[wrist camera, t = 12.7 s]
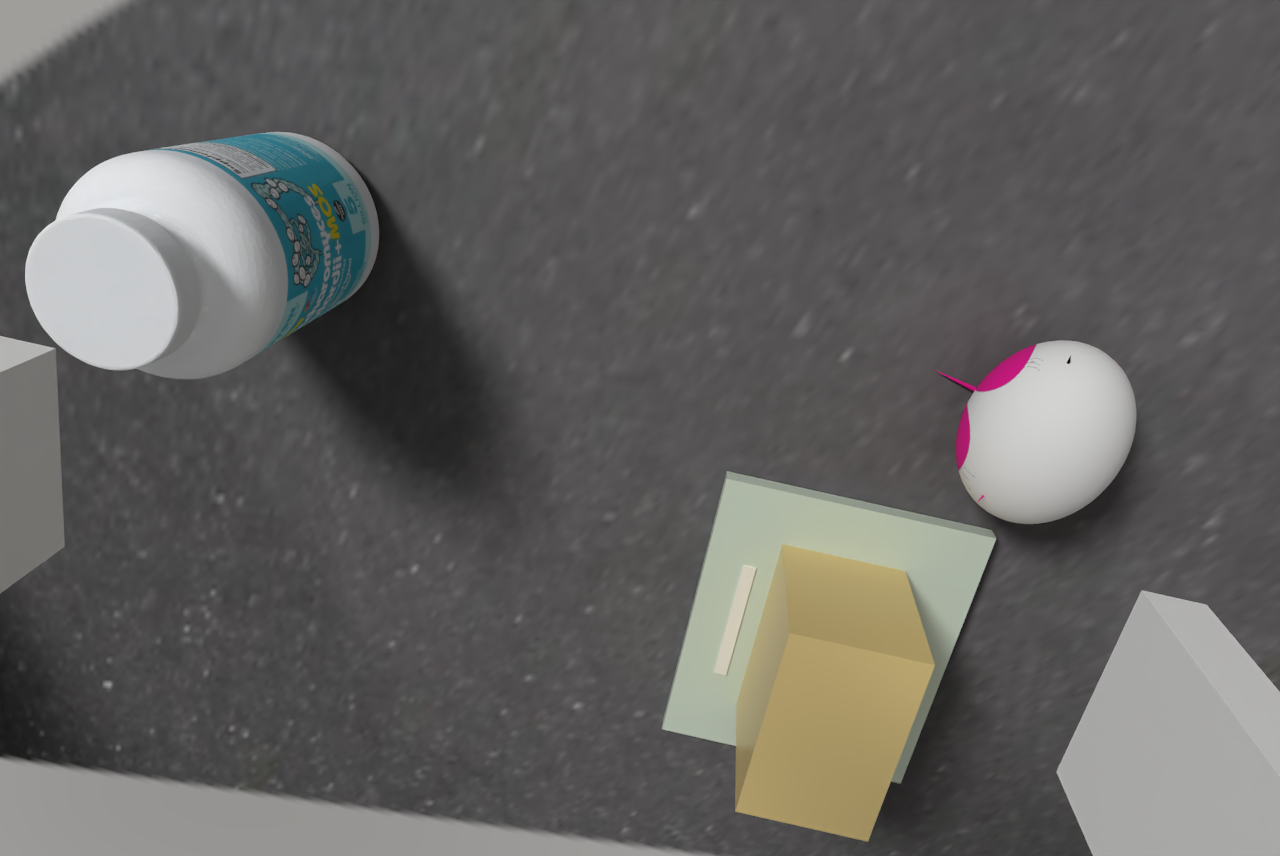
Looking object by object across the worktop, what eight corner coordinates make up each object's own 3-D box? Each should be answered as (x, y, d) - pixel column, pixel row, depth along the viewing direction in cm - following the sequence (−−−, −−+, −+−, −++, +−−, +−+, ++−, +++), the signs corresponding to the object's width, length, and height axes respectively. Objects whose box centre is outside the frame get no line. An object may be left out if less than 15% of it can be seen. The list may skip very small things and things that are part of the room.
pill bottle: (372, 327, 41) (212, 446, 29) (209, 280, 41) (-23, 380, 29) (399, 156, 38) (234, 207, 26) (224, 105, 38) (-25, 132, 26)
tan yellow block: (736, 703, 46) (735, 811, 39) (782, 543, 42) (789, 632, 36) (850, 729, 46) (867, 841, 39) (905, 571, 42) (934, 665, 36)
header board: (663, 718, 47) (655, 784, 43) (726, 471, 42) (725, 518, 38) (898, 772, 47) (913, 843, 43) (992, 530, 42) (1019, 583, 38)
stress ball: (1009, 295, 41) (962, 282, 36) (1188, 389, 37) (1165, 390, 32) (921, 441, 44) (864, 449, 39) (1079, 543, 40) (1041, 568, 35)
